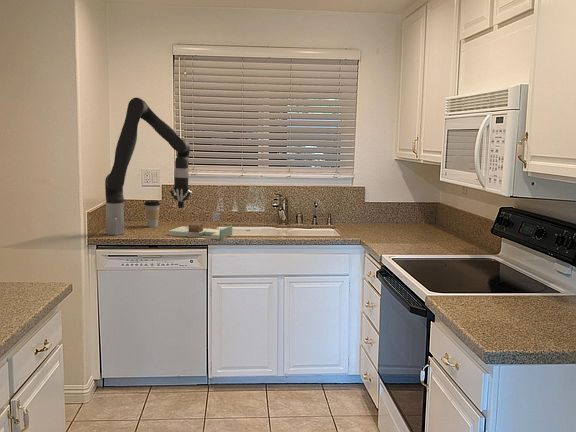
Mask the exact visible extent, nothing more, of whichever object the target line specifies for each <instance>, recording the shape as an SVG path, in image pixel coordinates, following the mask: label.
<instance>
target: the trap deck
mask: <svg viewBox="0 0 576 432" xmlns="http://www.w3.org/2000/svg"><path fill="white" fill-rule="evenodd" d="M168 236H175V237H185V236H188V237H187V238H197V237H202V238H201V239H209V238H211V237H212V238H213V239H212V240H223V239H225V238H224V237H226V238H228V237H231V236H233V225H229V226H226V227H224V228H222V229H214V228H205V227H203V231H201V232H190V231H189V226H179V227H176V228H173V229H170V230H168ZM227 236H228V237H227Z"/></svg>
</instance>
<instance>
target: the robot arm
mask: <svg viewBox="0 0 576 432" xmlns="http://www.w3.org/2000/svg"><path fill="white" fill-rule="evenodd" d="M140 120H143V121H145V122H146V123H147V124H148V125H149V126H150V127H151V128H152V129H154V131H155V132H156V133H157V134H158V135H159V136H160V137H161V138H162V139H164V140H165V141H166V142H167V143H168V145H169V146H171V148H172V149H173V150H174V151H175V152H177V153H176V154H177V155H176V157H175V160H174V161H175V162H174V164H175V165H174V177H173V178H174V185H173V188H172V189H171V190H170V191H169V193H170V195H171V196H172V197H173V199H174V200H175V201H177V207H178V209H184V206H185V201H188V200H189V198H190V197H191V196H192V194H193V191H190V188H189V159H190V158H189V157H190V152H191V151H190V150H191V145H190V142H189V141H188V140H186V139H182V138H181V137H180V136H179V135H178V134H177V132H176V130H174V129H173V128H172V127H171V126H170V125H168V124H167V123H166V122H165V121H164V120H162V119H161V118H160V117H159V116H158V115H157V114H156V113H155V112H154V111H152V109H151V108H150V107H149V105H148V104H147V102H146V101H145V100H144V99H142V98H140V97H133V98H131V99H130V100H129V102H128V105H127V109H126V114H125V118H124V122H123V126H122V128H121V131H120V134H119V137H118V140H117V143H116V147H115V152H114V159H113V160H114V162H113V166H112V168H111V170H110V173H108V174H107V176H105V180H104V186H105V209H106V210H105V213H106V214H105V215H106V216H105V235H107V236H108V235H109V236H119V235H124V234H125V210H124V209H125V206H124V205H125V202H124V201H125V198H124V185H125V179H126V175H127V170H128V167H129V165H130V162H131V160H132V157H133V153H134V151H135V148H136V144H137V140H138V126H139V123H140Z"/></svg>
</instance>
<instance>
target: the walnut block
mask: <svg viewBox="0 0 576 432" xmlns="http://www.w3.org/2000/svg"><path fill="white" fill-rule="evenodd" d="M188 227H189V231H190V232H201V231H203V228H204V223H199V222H196V223H190V224H188Z"/></svg>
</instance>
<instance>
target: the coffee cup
mask: <svg viewBox="0 0 576 432" xmlns="http://www.w3.org/2000/svg"><path fill="white" fill-rule="evenodd" d="M143 206H144V207H145V218H146V225H147V228H157V227H158V226H159V225H158V224H159V218H160V206H161V203H160V200H145V202H144V203H143Z"/></svg>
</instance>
